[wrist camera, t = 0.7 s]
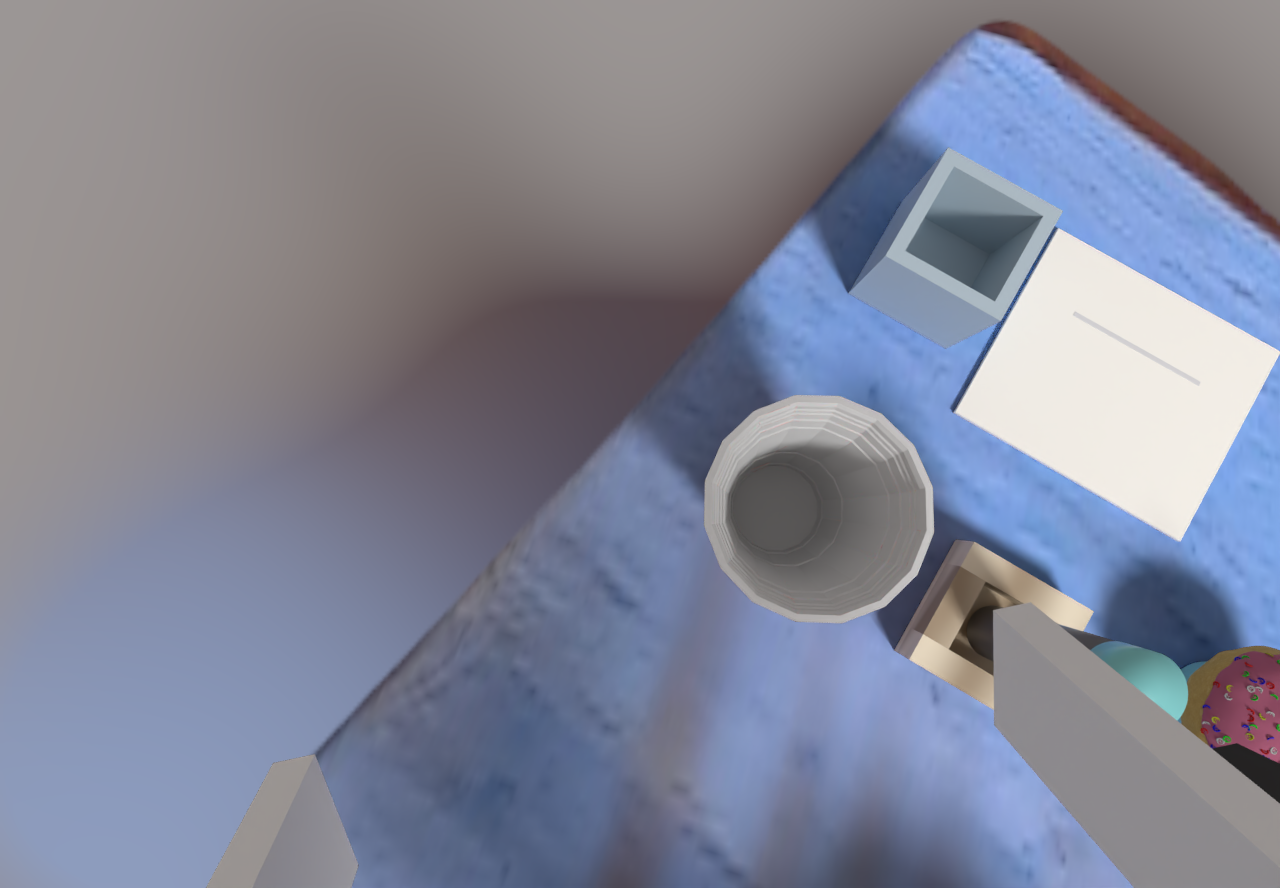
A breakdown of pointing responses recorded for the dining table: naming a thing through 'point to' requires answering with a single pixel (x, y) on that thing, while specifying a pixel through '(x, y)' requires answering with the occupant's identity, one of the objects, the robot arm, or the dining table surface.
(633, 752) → the dining table surface
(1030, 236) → the pen pot
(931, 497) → the plastic cup
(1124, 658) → the marker
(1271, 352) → the paper
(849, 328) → the dining table surface
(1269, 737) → the cupcake
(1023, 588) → the marker stand
